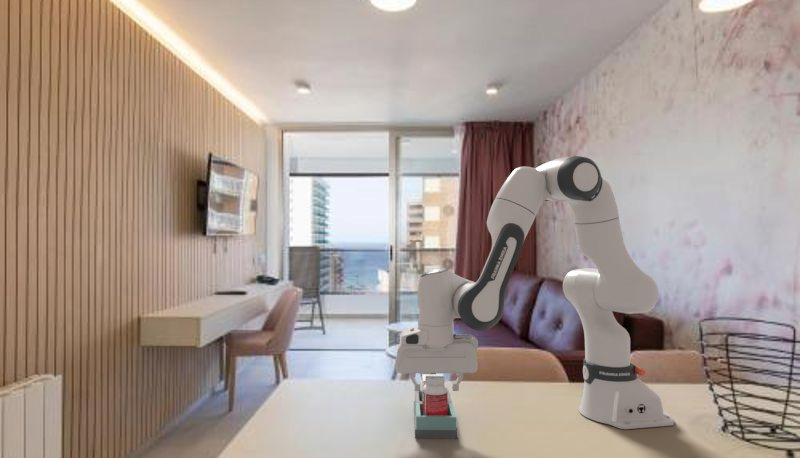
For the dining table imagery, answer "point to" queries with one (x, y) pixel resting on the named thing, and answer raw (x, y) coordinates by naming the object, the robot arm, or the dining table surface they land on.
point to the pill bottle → (435, 396)
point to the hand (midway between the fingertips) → (436, 390)
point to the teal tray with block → (433, 418)
